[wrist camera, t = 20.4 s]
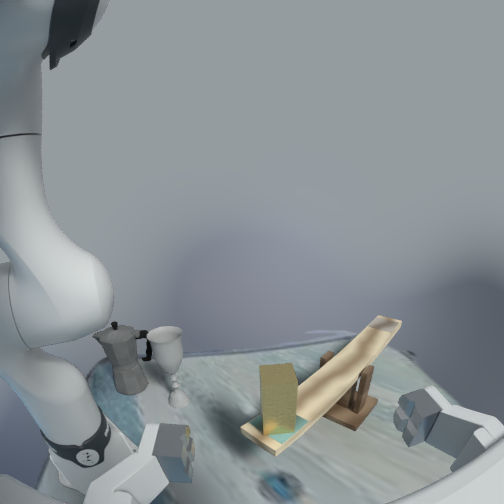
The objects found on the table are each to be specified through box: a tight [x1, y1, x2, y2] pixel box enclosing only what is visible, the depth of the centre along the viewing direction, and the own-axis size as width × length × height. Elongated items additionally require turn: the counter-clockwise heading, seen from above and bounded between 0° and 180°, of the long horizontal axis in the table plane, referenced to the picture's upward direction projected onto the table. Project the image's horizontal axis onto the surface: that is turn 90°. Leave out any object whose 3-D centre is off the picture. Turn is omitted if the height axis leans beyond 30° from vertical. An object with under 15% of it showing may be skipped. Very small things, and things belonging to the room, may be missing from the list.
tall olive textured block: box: [259, 363, 298, 435], centre depth 34 cm, size 4×4×10 cm
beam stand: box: [320, 351, 378, 431], centre depth 50 cm, size 14×10×12 cm
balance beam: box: [240, 315, 402, 457], centre depth 49 cm, size 7×49×2 cm, turn 134°
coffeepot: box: [93, 322, 152, 395], centre depth 58 cm, size 15×9×18 cm, turn 100°
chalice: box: [147, 326, 190, 408], centre depth 54 cm, size 7×7×18 cm
